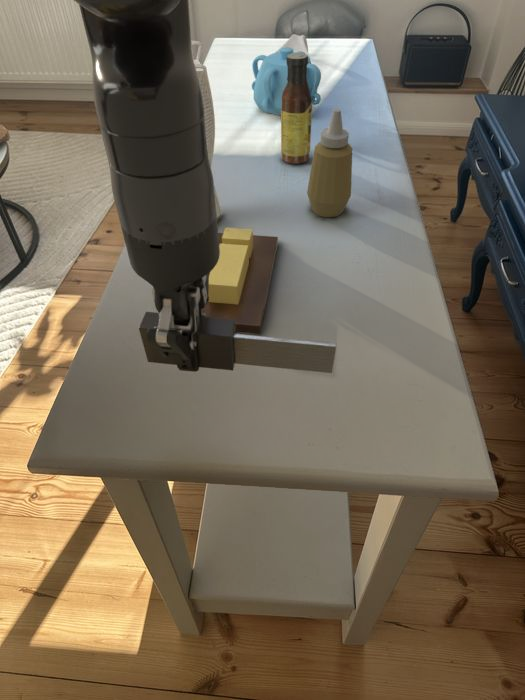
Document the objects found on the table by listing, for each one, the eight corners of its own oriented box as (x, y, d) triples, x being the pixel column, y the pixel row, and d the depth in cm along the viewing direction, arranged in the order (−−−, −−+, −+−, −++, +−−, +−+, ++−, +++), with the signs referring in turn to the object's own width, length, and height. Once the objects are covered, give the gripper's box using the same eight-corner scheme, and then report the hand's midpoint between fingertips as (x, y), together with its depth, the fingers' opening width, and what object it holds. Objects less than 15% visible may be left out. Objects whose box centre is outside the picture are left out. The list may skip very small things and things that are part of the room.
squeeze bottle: (343, 224, 87) (357, 123, 74) (300, 217, 89) (306, 116, 76) (353, 202, 92) (366, 103, 79) (312, 195, 94) (319, 98, 81)
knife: (147, 362, 50) (138, 328, 46) (154, 345, 52) (145, 311, 48) (331, 380, 48) (337, 346, 44) (332, 362, 50) (337, 328, 46)
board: (178, 326, 70) (176, 318, 69) (210, 239, 85) (209, 231, 84) (260, 333, 69) (259, 326, 68) (277, 243, 84) (278, 236, 82)
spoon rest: (305, 83, 136) (307, 54, 130) (264, 80, 138) (264, 52, 132) (318, 56, 151) (320, 30, 146) (281, 54, 153) (282, 28, 148)
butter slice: (223, 256, 79) (221, 238, 76) (226, 245, 81) (225, 227, 78) (250, 258, 78) (249, 240, 76) (253, 247, 80) (252, 229, 78)
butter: (208, 302, 71) (206, 283, 69) (221, 261, 78) (220, 243, 75) (238, 304, 71) (237, 286, 68) (249, 263, 77) (248, 245, 75)
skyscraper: (195, 203, 93) (174, 35, 72) (231, 213, 90) (220, 42, 70) (169, 225, 88) (139, 51, 67) (207, 236, 85) (187, 59, 65)
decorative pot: (322, 120, 119) (327, 58, 109) (257, 123, 117) (256, 61, 107) (310, 95, 130) (314, 37, 120) (251, 98, 128) (249, 40, 118)
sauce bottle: (313, 163, 103) (320, 59, 89) (285, 167, 102) (288, 63, 88) (303, 150, 108) (308, 49, 93) (276, 154, 107) (277, 52, 92)
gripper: (147, 165, 43) (174, 309, 55) (88, 261, 33) (137, 408, 46) (231, 170, 42) (239, 315, 55) (194, 269, 33) (214, 416, 45)
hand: (192, 357), depth 50 cm, fingers closed on knife, 2 cm apart
